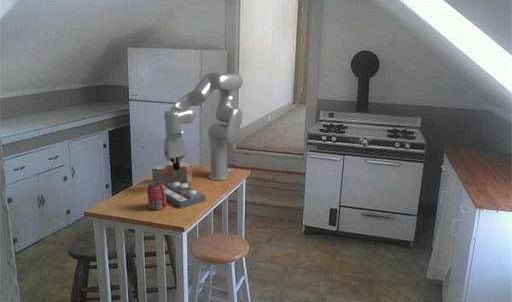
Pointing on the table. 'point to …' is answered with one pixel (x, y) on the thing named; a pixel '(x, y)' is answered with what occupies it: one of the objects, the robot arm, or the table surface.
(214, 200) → the table surface
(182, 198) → the button board
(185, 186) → the button middle
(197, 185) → the table surface
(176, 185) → the button
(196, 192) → the button
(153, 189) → the beverage can
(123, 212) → the table surface
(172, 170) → the stack of blocks
